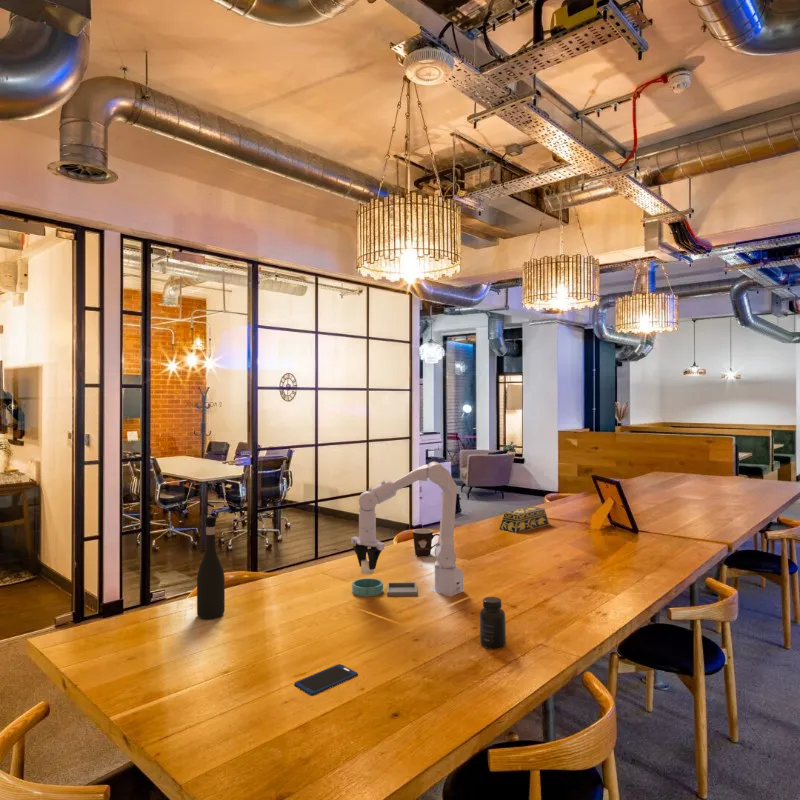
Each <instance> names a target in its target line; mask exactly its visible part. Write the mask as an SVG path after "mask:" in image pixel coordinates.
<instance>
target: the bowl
mask: <svg viewBox="0 0 800 800" xmlns="http://www.w3.org/2000/svg"><path fill="white" fill-rule="evenodd" d="M351 592H352V594H353V595H354V596H357V597H367V598H368V597H376V596H379V595H381V594H382V593H383V592H384V582H383V581H382V579H381V580H380V579H377V578H372V577H371V578H368V577H366V578H359V579H356V580H354V581H353V582H352V583H351Z"/></svg>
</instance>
